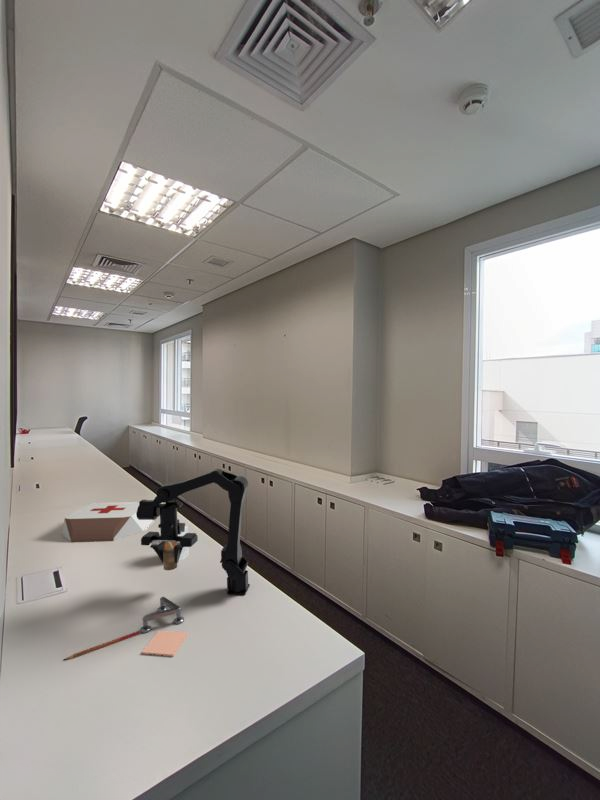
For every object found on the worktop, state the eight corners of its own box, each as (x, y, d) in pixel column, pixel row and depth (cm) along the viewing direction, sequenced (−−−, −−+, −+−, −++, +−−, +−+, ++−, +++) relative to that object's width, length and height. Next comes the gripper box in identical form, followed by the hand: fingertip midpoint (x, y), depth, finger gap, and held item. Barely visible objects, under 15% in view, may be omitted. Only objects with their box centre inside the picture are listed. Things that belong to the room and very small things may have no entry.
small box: (163, 558, 158) (162, 528, 157) (175, 552, 163) (174, 523, 163) (177, 562, 154) (176, 531, 153) (189, 556, 159) (188, 526, 159)
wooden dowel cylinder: (179, 564, 135) (178, 548, 135) (173, 570, 131) (172, 553, 130) (167, 563, 136) (166, 547, 136) (161, 570, 131) (160, 553, 131)
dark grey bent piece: (192, 608, 121) (192, 596, 121) (173, 635, 108) (172, 621, 108) (160, 606, 123) (160, 594, 123) (138, 633, 110) (137, 618, 110)
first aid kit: (135, 541, 178) (135, 520, 178) (48, 543, 177) (47, 522, 177) (160, 516, 212) (160, 498, 211) (87, 518, 211) (86, 500, 211)
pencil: (139, 633, 110) (138, 630, 110) (139, 635, 110) (139, 632, 109) (62, 660, 100) (62, 657, 100) (62, 663, 99) (62, 659, 99)
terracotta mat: (188, 634, 109) (188, 632, 109) (173, 656, 100) (173, 654, 100) (159, 632, 110) (158, 630, 110) (141, 653, 101) (141, 652, 101)
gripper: (203, 512, 139) (204, 553, 140) (155, 511, 142) (157, 551, 142) (190, 523, 128) (191, 568, 129) (139, 521, 131) (140, 565, 131)
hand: (170, 562), depth 133 cm, fingers closed on wooden dowel cylinder, 5 cm apart
